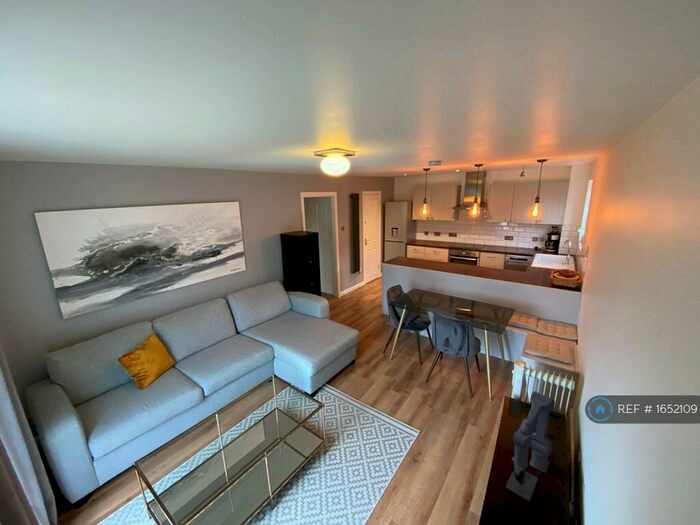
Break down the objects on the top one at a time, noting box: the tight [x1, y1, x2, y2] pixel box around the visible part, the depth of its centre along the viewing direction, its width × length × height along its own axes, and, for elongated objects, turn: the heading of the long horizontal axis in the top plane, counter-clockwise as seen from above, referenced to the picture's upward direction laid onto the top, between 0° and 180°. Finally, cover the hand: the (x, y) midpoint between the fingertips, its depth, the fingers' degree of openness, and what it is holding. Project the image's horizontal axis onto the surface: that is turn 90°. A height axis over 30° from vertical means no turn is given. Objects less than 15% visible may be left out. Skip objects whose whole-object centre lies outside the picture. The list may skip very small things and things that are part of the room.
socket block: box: [505, 470, 539, 502], centre depth 153 cm, size 15×11×2 cm
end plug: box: [516, 469, 527, 485], centre depth 149 cm, size 5×5×7 cm
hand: (520, 477), depth 149 cm, fingers closed on end plug, 5 cm apart
